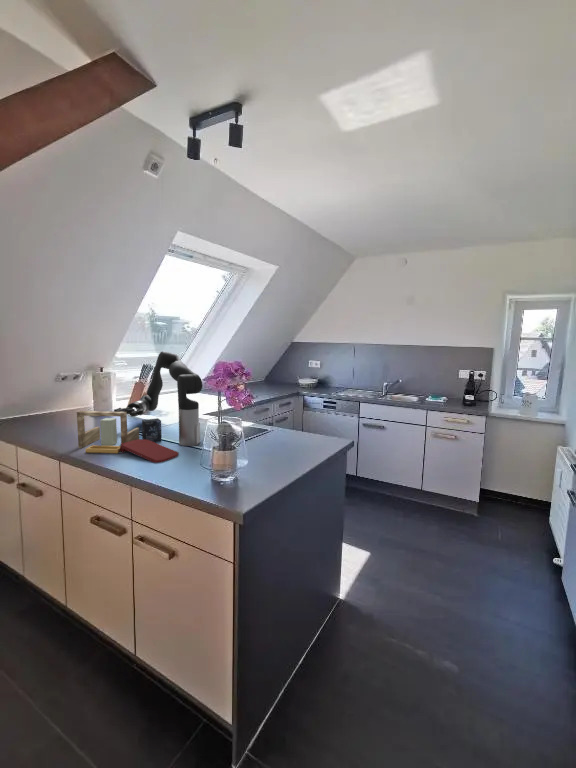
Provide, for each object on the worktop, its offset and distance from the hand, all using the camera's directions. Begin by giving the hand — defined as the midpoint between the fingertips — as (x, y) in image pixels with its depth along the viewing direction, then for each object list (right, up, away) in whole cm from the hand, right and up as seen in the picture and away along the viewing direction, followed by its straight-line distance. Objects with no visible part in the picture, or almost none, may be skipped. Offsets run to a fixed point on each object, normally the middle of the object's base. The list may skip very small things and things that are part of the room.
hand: (123, 414), depth 188 cm
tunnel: (0, -13, -13) cm, 18 cm away
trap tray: (+3, -14, -25) cm, 29 cm away
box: (+17, -13, -7) cm, 23 cm away
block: (0, -13, -14) cm, 19 cm away
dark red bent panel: (+23, -16, -28) cm, 39 cm away
